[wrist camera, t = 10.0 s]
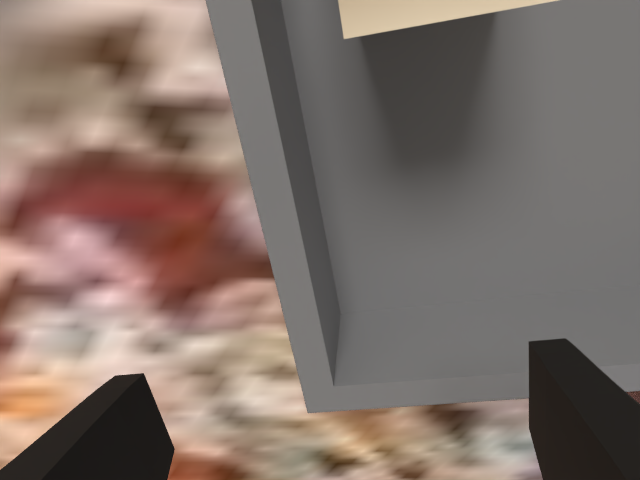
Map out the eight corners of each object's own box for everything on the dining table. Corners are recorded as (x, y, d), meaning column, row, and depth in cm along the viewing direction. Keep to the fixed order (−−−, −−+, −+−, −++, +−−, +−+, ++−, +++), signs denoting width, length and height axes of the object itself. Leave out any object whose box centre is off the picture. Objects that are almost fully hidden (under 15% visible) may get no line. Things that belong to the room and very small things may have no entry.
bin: (774, 286, 18) (888, 374, 14) (320, 328, 21) (308, 413, 17) (949, -481, 10) (1306, -764, 6) (193, -265, 13) (113, -372, 9)
